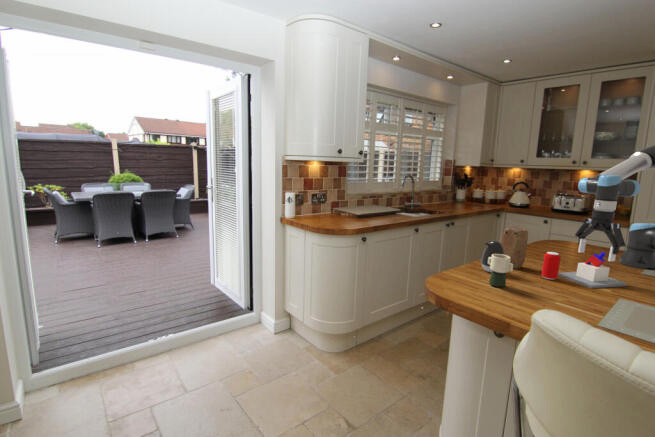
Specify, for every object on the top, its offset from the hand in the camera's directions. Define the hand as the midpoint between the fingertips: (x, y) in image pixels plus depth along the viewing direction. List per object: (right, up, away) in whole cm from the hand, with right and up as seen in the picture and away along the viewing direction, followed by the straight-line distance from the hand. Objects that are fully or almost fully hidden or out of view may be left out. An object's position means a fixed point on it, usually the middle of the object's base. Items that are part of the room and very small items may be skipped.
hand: (595, 256), depth 148 cm
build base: (-1, -11, +2) cm, 11 cm away
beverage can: (-19, -10, +3) cm, 22 cm away
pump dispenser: (-42, -8, +10) cm, 44 cm away
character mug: (-49, -11, -9) cm, 51 cm away
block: (-28, -7, +19) cm, 35 cm away
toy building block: (0, -4, +1) cm, 4 cm away
